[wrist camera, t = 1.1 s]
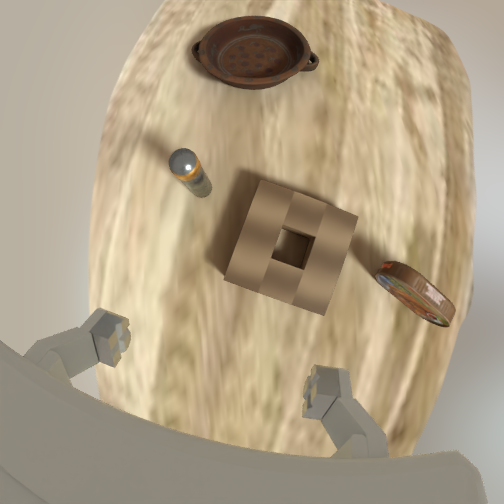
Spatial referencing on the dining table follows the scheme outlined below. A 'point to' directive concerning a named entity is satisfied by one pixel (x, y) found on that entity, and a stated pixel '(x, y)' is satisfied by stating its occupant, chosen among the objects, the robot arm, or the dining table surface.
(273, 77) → the dish
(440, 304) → the tin
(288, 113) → the dining table surface
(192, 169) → the grey upright cylinder
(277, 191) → the brown square frame
